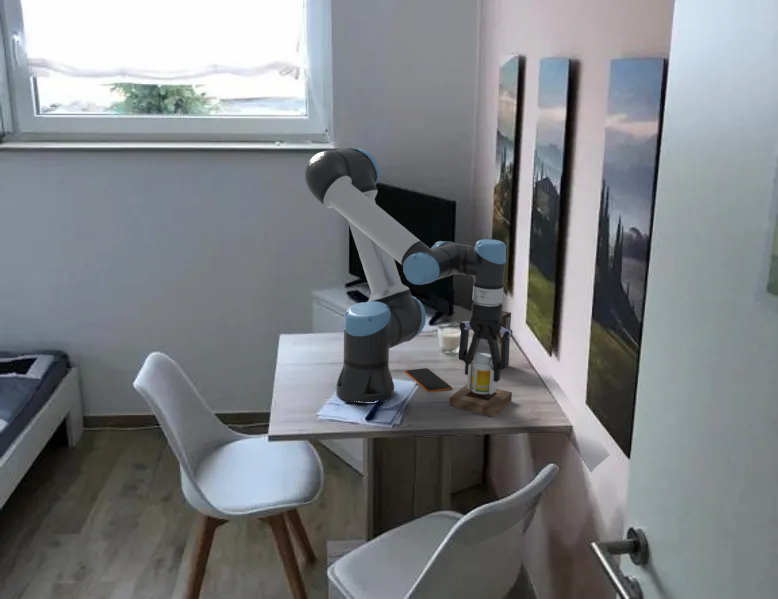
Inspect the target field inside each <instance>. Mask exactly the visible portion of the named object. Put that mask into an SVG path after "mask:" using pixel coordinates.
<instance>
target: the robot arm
mask: <svg viewBox="0 0 778 599" xmlns="http://www.w3.org/2000/svg"><path fill="white" fill-rule="evenodd" d="M379 177H380V168H379V163H378V161H377V160H376V158H375V157H374V156H373V154H371V153H370V152H369V151H368V150H365V149H362V148H355V147H348V148H343V149H336V150H333V149H332V150H323V151H319V152H317V153H316V154H315V155H313V156H312V157H311V158H310V159H309V160H308V162H307V164H306V168H305V170H304V180H305V183H306V186H307V188H308V190H309V192H310V193H311V194H312V195H313V196H314V198H315V199H317V201H318V202H319V203H320V204H322V205H324V207H325V208H327V209H334V210H335V211H337V213H339V214H340V215H342V217H344V218H345V219H347V222H348V225H349V228H350V231H351V235H352V237H353V241H354V243H355V246H356V249H357V252H358V256H359V259H360V262H361V264H362V268H363V271H364V275H365V277H366V280H367V283H368V286H369V290H370V293H371V294H370V296H369V299H368V301H366V302H358V303H354V304H352V305H351V306H350V307H348V308H347V310H346V312H345V314H344V321H343V366H342V367H341V370H340V374H339V375H338V376H339V377H338V379H337V382H336V387H335V390H336V395H337V397H339V398H340V399H341V400H344V401H346V402H349V401H352V402H351V403H353V402H354V401H355V402H356V401H357V402H358V401H360V402H361V401H362V402H375V401H377V400H380V401H384V402H386V401H385V400H387V401H389V400H391V399H392V398H393V397H394V396H395V384H394V381H393V377H392V376H393V375H392V373H391V370H390V369H391V368H390V367H389V363H390V362H389V360H390V359H389V358H390V356H389V355H390V349H391V348H394V347H396V346H398V345H400V344H403V343H406V342H410V341H411V340H413V339H414V338H415V337H417V336H419V335H420V334H421V332H422V331H423V330H424V327H425V325H426V322H427V321H426V320H427V315H426V309H425V306H424V305H423V303H422V302H421V301H420V300H419V299H417V297H416V296H413V295H412V292H411V290H410V288H409V287H408V286H406V285H404V284H403V283H402V280H401V276H400V275H399V271H398V268H397V264H396V261H397V262H398V263H399V264H400V265H401V266H402V269H403V270H402V271H403V274H404V276H405V278H406V280H407V281H408V282H409V283H411V284H413V285H415V286H417V285H418V286H421V285H426V284H432V283H433V282H435V281H437V280H440V279H445V278H447V277H451V276H453V275H462V276H468V277H473V282H472V283H473V284H472V285H473V286H472V301H473V302H472V303H471V312H470V314H471V318H470V320H469V321H467V320H463V321H461V322H460V323H459V325H458V326H459V329H460V337H459V338H460V339H459V347H458V348H459V349H458V360H459V361H463V362H464V363H465V365H464V375H465V376H467V382H466V385H467V389H471V378H472V365H473V363H474V356H475V353H476V350H477V347H478V344H479V342H480V339H481V338H484V339H486V340H487V341H488V344H489V347H490V352H491V357H492V362H493V368H492V369H491V370H490V385H489V394H493V393H494V392H495V391H496V389H497V382H499V381H500V380H501V375H502V374H501V371H502V370H504V369H506V368H508V367H509V363H510V343H511V342H510V341H511V337H512V335H513V330H512V329H511V328H510V329H509V330H507V329H505V328H503V326H502V323H501V318H502V311H503V304H502V303H503V300H504V288H505V287H504V286H505V283H504V282H505V274H506V263H507V246H506V243H505V242H504V241H502V240H498V239H488V238H485V239H479V240H477V241H476V242H475V246H474V245H468V244H463V243H459V242H458V243H457V242H454V241H442V240H439V241H437V242H435V243H434V245H432V246H431V248H430V247H429V246H428V245H426V244H425V243H424V242H423V241H422V240H420V239H419V238H417V236H415V234H413V233H412V232H411V231H409V230H408V229H407V228H406V227H405V226H403V225H402V224H401V223H400V222H398V221H397V220H396V219H395V218H393V217H392V216H391V215H390V214H388V213H387V211H385V210H384V209H382V208H381V207H380V206H379V205H378V204H377V203H376V200H375V199H376V197H377V194H378V187H377V183H378V181H379ZM470 328H471V330H472V331H473V334H472V337H471V343H470V345H469V338H470V337H469V336H470ZM499 332H501V337H502V341H501V359H500V353H499V348H498V343H497V341H498V338H497V334H498V333H499ZM468 346H469V348H468ZM393 395H394V396H393ZM392 396H393V397H392ZM391 397H392V398H391ZM390 398H391V399H390ZM388 399H389V400H388Z"/></svg>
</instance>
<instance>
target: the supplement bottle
mask: <svg viewBox="0 0 778 599" xmlns="http://www.w3.org/2000/svg"><path fill="white" fill-rule="evenodd" d="M491 361H492V357H491V355H490V354H487V353H478V354H476V362H474V361H473V362H474V363H473V365H472V378H471V391H472V392H474V393H477V394H489V385H490V370H491V369H492V368H493V364H492V363H491Z"/></svg>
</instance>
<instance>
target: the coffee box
mask: <svg viewBox="0 0 778 599" xmlns="http://www.w3.org/2000/svg"><path fill="white" fill-rule="evenodd" d="M511 320H512V312H509V311H504V310H502V318H501V323H502V326H503V328H505V329H507V330H509V329H511V323H512V322H511ZM497 338H498V341H497V343H498V348H499V353H500V359H501V341H502V337H501V332H499V333H498V334H497ZM478 353H487V354H490V355H491V352H490V347H489V344H488V341H487V340H486V339H484V338H481V339H480V342H479V344H478V347H477V350H476V353H475V356H474V358H473V359H474V360H473V362H476V354H478ZM491 363H492V364H493V362H492V361H491Z"/></svg>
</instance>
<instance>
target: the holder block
mask: <svg viewBox="0 0 778 599" xmlns="http://www.w3.org/2000/svg"><path fill="white" fill-rule="evenodd" d="M512 399H513V392H512V391H509V390H503V389H499V388H496V391H495V392H494V393H493V394H477V393H474V392H472V391H471V389H467V384H466V385H464V386H463V387H461V388H460V389H459V390H457V391H456V392H455V393H453V394H451V395H450V396H449V404H448V405H449V407H452V408H455V409H460V410H465V411H469V412H472V413H477V414H481V415H483V416H489V417H494V416H496V415H497V414H498V413H499V412H500V411H502V410H503V409H504V408H505V407H506V406H508V404H510V403H512Z"/></svg>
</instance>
